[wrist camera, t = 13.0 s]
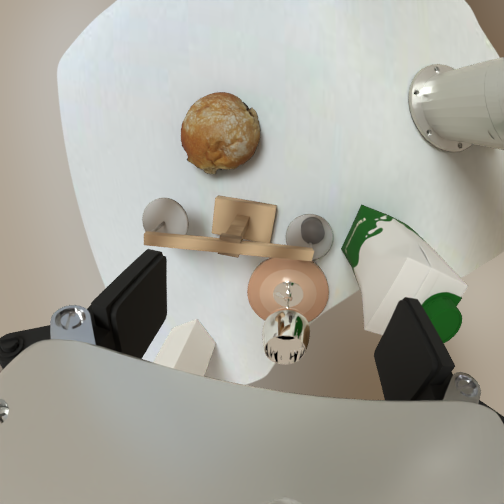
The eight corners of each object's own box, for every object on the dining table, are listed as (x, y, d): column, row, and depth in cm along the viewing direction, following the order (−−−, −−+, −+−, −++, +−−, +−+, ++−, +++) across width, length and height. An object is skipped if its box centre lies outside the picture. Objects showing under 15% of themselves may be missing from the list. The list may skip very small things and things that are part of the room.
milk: (197, 317, 47) (148, 422, 27) (216, 343, 49) (180, 448, 29) (171, 327, 49) (118, 423, 29) (190, 351, 51) (149, 448, 31)
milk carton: (384, 272, 40) (432, 367, 21) (331, 251, 39) (357, 349, 21) (410, 220, 36) (486, 293, 18) (357, 194, 36) (414, 258, 18)
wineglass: (315, 289, 41) (320, 345, 30) (293, 316, 43) (291, 373, 32) (282, 270, 40) (276, 322, 29) (261, 298, 43) (250, 354, 32)
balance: (334, 213, 37) (352, 249, 26) (324, 253, 40) (335, 302, 28) (165, 184, 39) (118, 208, 27) (164, 224, 41) (120, 259, 30)
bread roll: (269, 140, 38) (285, 120, 30) (219, 192, 38) (223, 183, 30) (218, 95, 36) (222, 68, 28) (166, 145, 36) (158, 125, 28)
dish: (337, 262, 40) (338, 266, 39) (316, 327, 45) (316, 332, 44) (254, 247, 41) (253, 250, 40) (243, 314, 46) (242, 319, 45)
